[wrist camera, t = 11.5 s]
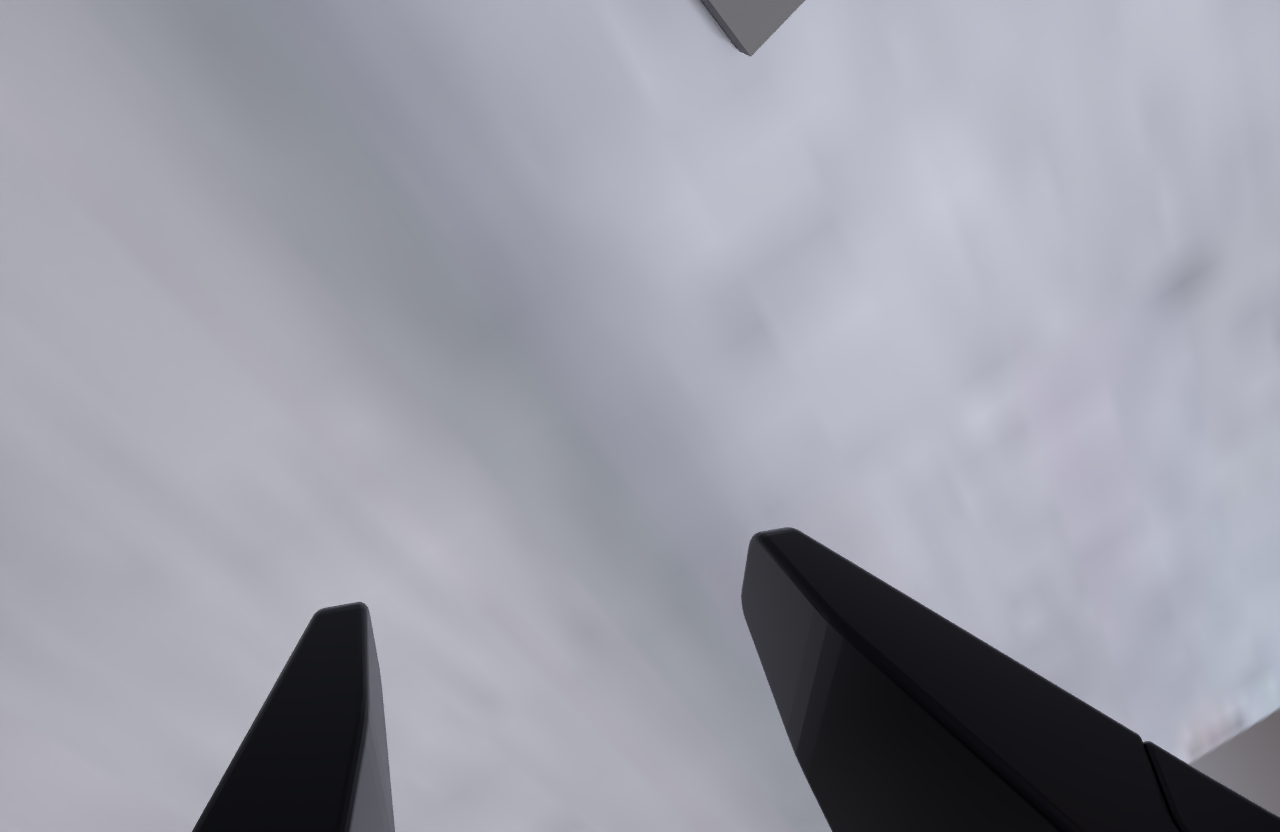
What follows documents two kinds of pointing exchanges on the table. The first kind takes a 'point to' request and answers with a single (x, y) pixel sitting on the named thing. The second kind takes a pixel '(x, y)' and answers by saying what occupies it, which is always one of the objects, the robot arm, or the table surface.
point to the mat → (751, 19)
